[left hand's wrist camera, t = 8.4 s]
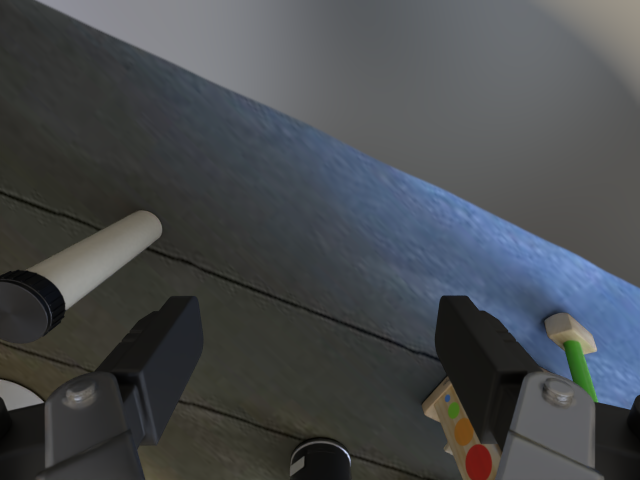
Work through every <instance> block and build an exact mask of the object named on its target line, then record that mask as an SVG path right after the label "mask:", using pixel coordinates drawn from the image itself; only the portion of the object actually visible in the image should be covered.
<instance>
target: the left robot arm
mask: <svg viewBox="0 0 640 480" xmlns="http://www.w3.org/2000/svg"><path fill="white" fill-rule="evenodd" d="M435 347H436V352H437V355H438V357H439V359H440V361H441V363H442V365H443V367H444V369H445V371H446V373H447V376H448V378H449V380H450V382H451V384H452V386H453V388H454V390H455V392H456V394H457V396H458V398H459V400H460V402H461V404H462V406H463V408H464V410H465V412H466V414H467V417H468V419H469V421H470V423H471V425H472V427H473V429H474V431H475V433H476V435H477V437H478V439H479V441H480V443H481V444H498V445H499V447H500V449H501V451H502V456H501V459H500V463H499V466H498V470H497V474H496V477H495V480H640V395H639V396H637V397H636V398H635V401H634V403H633V406H632V408H631V410H629V409H625V408H620V407H616V406H611V405H607V404H602V403H598V402H594V401H593V399H592V398H591V396H590V395H589V394H588V393H587V392H586V391H585V390H584V389H583V388H582V387H580V386H579V385H578V384H576V383H574V382H573V381H571V380H569V379H567V378H565V377H562V376H560V375H557V374H553V373H549V372H544V371H543V370H542V369H541V368H540V367H539V366H538V365H537V363H536V362H535V361H534V360H533V359H532V358H531V356H530V355H529V354H528V353H527V352H526V351H525V350H524V348H523V347H522V346H521V345H520V344H519V343H518V342H516V339H515V338H514V337H513V336H512V335H511V333H508V330H507V329H506V328H505V327H504V325H503V324H502V323H501V322H500V321H499V320H498V319H497V318H495V317H493V316H492V315H490V314H489V313H487V312H486V311H479V310H478V308H477V307H476V306H475V305H474V304H473V302H472V301H471V300H470V299H469V297H468V296H442V297H441V299H440V303H439V310H438V317H437V325H436V332H435ZM202 349H203V331H202V324H201V317H200V309H199V303H198V299H197V297H196V296H171V297H170V298H169V299H168V300H167V302H166V303H165V304H164V305H163V306H162V308H161V309H160V310H159V311H153V312H152V313H150V314H149V315H147V316H145V317H144V318H142V319H141V320H139V321H138V322H137V323H136V325H135V326H134V327H133V328H132V329H131V330H130V333H128V334H127V335H126V336H125V337H124V338H123V339H122V342H121V343H119V344H118V345H117V346H116V347H115V349H114V350H113V351H112V352H111V353H110V354H109V355H108V357H107V358H106V359H105V360H104V361H103V362H102V363H101V365H100V366H99V367H98V368H97V369H96V370H95V371H94V372H91V373H87V374H83V375H80V376H78V377H75V378H73V379H71V380H69V381H67V382H66V383H64V384H62V385H61V386H60V387H58V388H57V389H56V390H55V391H54V392H53V393H52V394H51V395H50V396H49V398H48V399H47V401H46V402H44V403H40V404H36V405H31V406H27V407H22V408H18V409H14V410H9V411H8V410H7V408H6V405H5V403H4V400H3V399H2V398H1V397H0V480H145V477H144V474H143V470H142V466H141V463H140V459H139V456H138V452H137V449H138V447H139V445H157V443H158V441H159V439H160V437H161V435H162V433H163V431H164V429H165V427H166V425H167V423H168V421H169V419H170V417H171V415H172V413H173V411H174V409H175V407H176V405H177V403H178V401H179V399H180V397H181V395H182V393H183V391H184V389H185V387H186V384H187V382H188V380H189V378H190V376H191V374H192V372H193V370H194V368H195V366H196V364H197V362H198V360H199V358H200V356H201V353H202ZM290 480H352V477H351V458H350V454H349V452H348V450H347V449H346V448H345V447H344V446H343V445H342V444H340V443H339V442H336V441H334V440H331V439H325V438H317V439H311V440H308V441H305V442H303V443H301V444H300V445H299V446H297V447H296V449H295V450H294V451H293V453H292V456H291V467H290Z"/></svg>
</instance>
